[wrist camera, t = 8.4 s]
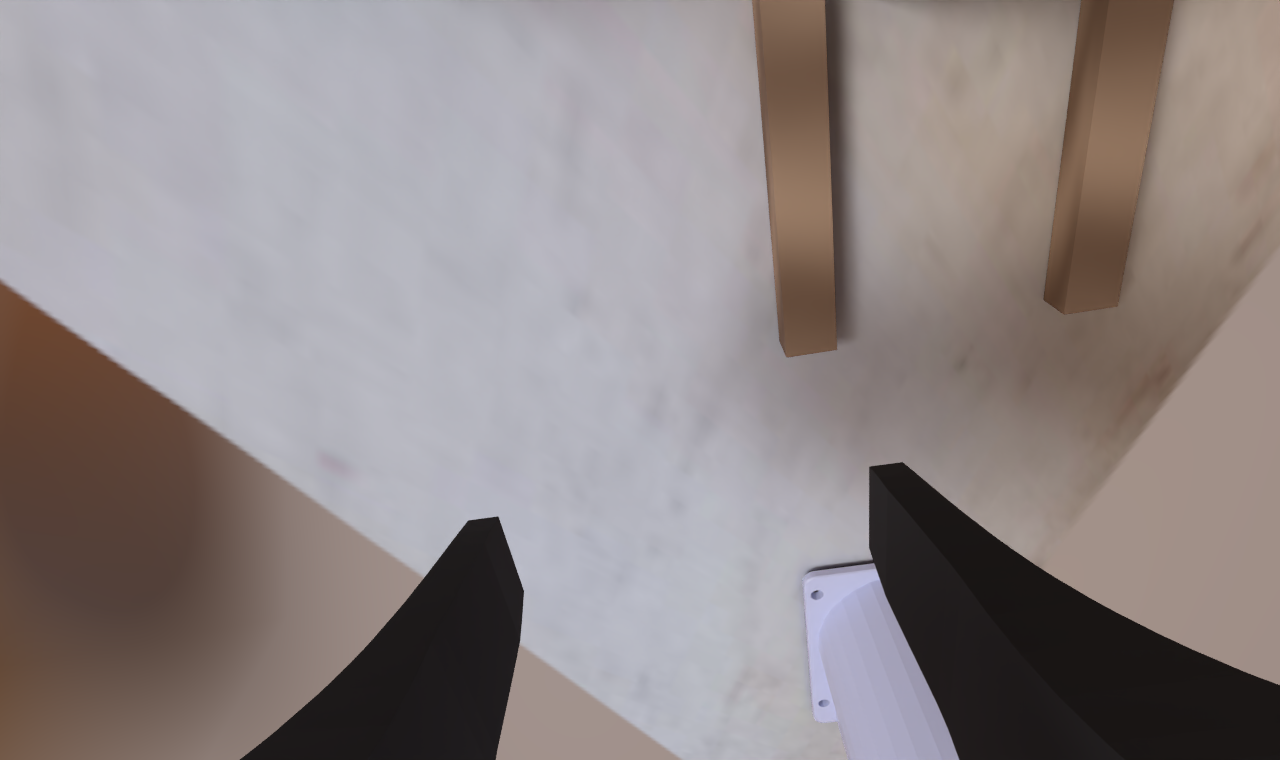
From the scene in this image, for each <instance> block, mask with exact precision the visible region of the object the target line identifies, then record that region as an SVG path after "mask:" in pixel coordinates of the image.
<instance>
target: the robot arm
mask: <svg viewBox="0 0 1280 760" xmlns="http://www.w3.org/2000/svg"><path fill="white" fill-rule="evenodd" d="M869 548H870V551H871V555H872V558H873V561H874V563H872V564H864V565H856V566H849V567H841V568H833V569H826V570H818V571H812V572H809V573H808V574H806V575H805V576H804V577H803V580H802V584H803V597H804V610H805V623H806V636H807V649H808V662H809V675H810V688H811V701H812V712H813V716H814V719H815V720H816V721H817V722H820V723H828V722H838V726H839V729H840V733H841V736H842V740H843V743H844V747H845V750H846V754H847V758H848V760H1280V685H1278V684H1275V683H1272V682H1269V681H1267V680H1264V679H1261V678H1258V677H1256V676H1253V675H1251V674H1248V673H1246V672H1243V671H1241V670H1239V669H1236V668H1234V667H1231V666H1229V665H1227V664H1224V663H1222V662H1220V661H1218V660H1215V659H1213V658H1211V657H1208V656H1206V655H1204V654H1201V653H1199V652H1197V651H1194V650H1192V649H1190V648H1188V647H1185V646H1183V645H1181V644H1179V643H1177V642H1175V641H1173V640H1170V639H1168V638H1166V637H1164V636H1162V635H1160V634H1158V633H1155V632H1154V631H1152V630H1150V629H1148V628H1146V627H1144V626H1142V625H1140V624H1138V623H1136V622H1134V621H1132V620H1130V619H1128V618H1126V617H1124V616H1122V615H1120V614H1118V613H1116V612H1114V611H1112V610H1111V609H1109V608H1107V607H1105V606H1103V605H1101V604H1100V603H1098V602H1096V601H1094V600H1092V599H1090V598H1089V597H1087V596H1085V595H1084V594H1082V593H1080V592H1079V591H1077V590H1075V589H1073V588H1072V587H1070V586H1068V585H1067V584H1065V583H1063V582H1061V581H1060V580H1058V579H1056V578H1055V577H1053V576H1052V575H1050V574H1049V573H1047V572H1045V571H1044V570H1042V569H1041V568H1039V567H1038V566H1036V565H1035V564H1033V563H1032V562H1030V561H1029V560H1027V559H1026V558H1024V557H1023V556H1021V555H1020V554H1018V553H1017V552H1015V551H1014V550H1013V549H1011V548H1010V547H1008V546H1007V545H1006V544H1004V543H1003V542H1001V541H1000V540H999V539H997V538H996V537H995V536H993V535H992V534H991V533H989V532H988V531H987V530H985V529H984V528H983V527H981V526H980V525H979V524H978V523H976V522H975V521H974V520H972V519H971V518H970V517H968V516H967V515H966V514H965V513H963V512H962V511H961V510H960V509H958V508H957V507H956V506H955V505H953V504H952V503H951V502H950V501H948V500H947V499H946V498H945V497H944V496H942V495H941V494H940V493H939V492H938V491H936V490H935V489H934V488H933V487H932V486H930V485H929V484H928V483H927V482H926V481H924V480H923V479H922V478H921V477H920V476H919V475H917V474H916V473H915V472H914V471H913V470H911V469H910V468H909V467H908V466H906V465H905V464H904V463H903V462H901V463H894V464H886V465H879V466H871V467H869ZM816 590H818V592H813V591H816ZM523 597H524V590H523V587H522V584H521V581H520V578H519V576H518V573H517V570H516V567H515V564H514V561H513V558H512V555H511V552H510V549H509V546H508V543H507V540H506V538H505V535H504V532H503V529H502V526H501V523H500V520H499V517H492V518H484V519H477V520H469V521H468V522H467V523H466V524H465V526H464V527H463V528H462V529H461V531H460V532H459V533H458V534H457V536H456V537H455V538H454V540H453V541H452V542H451V544H450V545H449V546H448V548H447V549H446V550H445V551H444V553H443V554H442V555H441V557H440V558H439V559H438V561H437V562H436V563H435V565H434V566H433V567H432V569H431V570H430V571H429V572H428V574H427V575H426V576H425V578H424V579H423V580H422V581H421V583H420V584H419V585H418V586H417V588H416V589H415V590H414V591H413V593H412V594H411V595H410V596H409V598H408V599H407V600H406V602H405V603H404V604H403V605H402V606H401V608H400V609H399V610H398V611H397V612H396V613H395V614H394V616H393V617H392V618H391V619H390V620H389V621H388V622H387V624H386V625H385V626H384V627H383V628H382V629H381V631H380V632H379V633H378V634H377V635H376V636H375V637H374V639H373V640H372V641H371V642H370V643H369V644H368V645H367V646H366V647H365V649H364V650H363V651H362V652H361V653H360V654H359V655H358V656H357V657H356V658H355V659H354V660H353V661H352V662H351V663H350V664H349V665H348V666H347V667H346V668H345V669H344V670H343V671H342V672H341V673H340V674H339V675H338V676H337V677H336V678H335V679H334V680H333V681H332V682H331V683H330V684H329V685H328V686H326V687H325V688H324V689H323V690H322V691H321V692H320V693H319V694H318V695H317V696H316V697H314V698H313V699H312V700H311V701H310V702H309V703H308V704H306V705H305V706H304V707H303V708H302V709H301V710H300V711H298V712H297V713H296V714H295V715H294V716H293V717H292V718H290V719H289V720H288V721H287V722H286V723H285V724H283V725H282V726H281V727H280V728H279V729H278V730H277V731H276V732H274V733H273V734H272V735H271V736H270V737H268V738H267V739H266V740H264V741H263V742H262V743H261V744H259V745H258V746H257V747H256V748H254V749H253V750H252V751H250V752H249V753H248V754H247V755H245V756H244V757H243V758H241V759H240V760H496V754H497V748H498V744H499V739H500V735H501V730H502V725H503V720H504V716H505V711H506V706H507V702H508V697H509V692H510V687H511V683H512V678H513V673H514V668H515V663H516V658H517V653H518V648H519V643H520V635H521V624H522V611H523Z"/></svg>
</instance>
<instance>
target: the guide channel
mask: <svg viewBox="0 0 1280 760" xmlns="http://www.w3.org/2000/svg"><path fill="white" fill-rule="evenodd" d="M1173 2H1174V0H1081V8H1080V16H1079V24H1078V32H1077V39H1076V47H1075V55H1074V63H1073V71H1072V79H1071V87H1070V95H1069V103H1068V111H1067V119H1066V127H1065V135H1064V142H1063V150H1062V158H1061V166H1060V174H1059V182H1058V190H1057V198H1056V206H1055V214H1054V222H1053V230H1052V238H1051V246H1050V253H1049V261H1048V269H1047V277H1046V285H1045V293H1044V300H1045V301H1046V302H1047V303H1049V304H1050V305H1052V306H1053V307H1054V308H1056V309H1057V310H1058V311H1060V312H1061V313H1063V314H1064V315H1065V314H1071V313H1078V312H1084V311H1091V310H1097V309H1104V308H1110V307H1116V306H1118V301H1119V296H1120V290H1121V285H1122V279H1123V274H1124V269H1125V263H1126V258H1127V252H1128V247H1129V241H1130V236H1131V231H1132V225H1133V220H1134V214H1135V209H1136V203H1137V198H1138V192H1139V187H1140V182H1141V176H1142V171H1143V165H1144V160H1145V154H1146V149H1147V144H1148V138H1149V133H1150V127H1151V122H1152V116H1153V111H1154V106H1155V100H1156V95H1157V89H1158V84H1159V78H1160V73H1161V68H1162V62H1163V57H1164V51H1165V46H1166V40H1167V35H1168V30H1169V24H1170V19H1171V13H1172V8H1173ZM752 3H753V16H754V28H755V40H756V53H757V65H758V78H759V90H760V103H761V115H762V128H763V140H764V153H765V165H766V178H767V190H768V203H769V215H770V227H771V240H772V252H773V265H774V277H775V290H776V302H777V315H778V327H779V340H780V343H781V346H782V348H783V350H784V353H785V355H786V357H793V356H800V355H806V354H813V353H819V352H825V351H832V350H837V336H836V307H835V278H834V249H833V220H832V191H831V163H830V134H829V105H828V76H827V47H826V19H825V0H752Z"/></svg>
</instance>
